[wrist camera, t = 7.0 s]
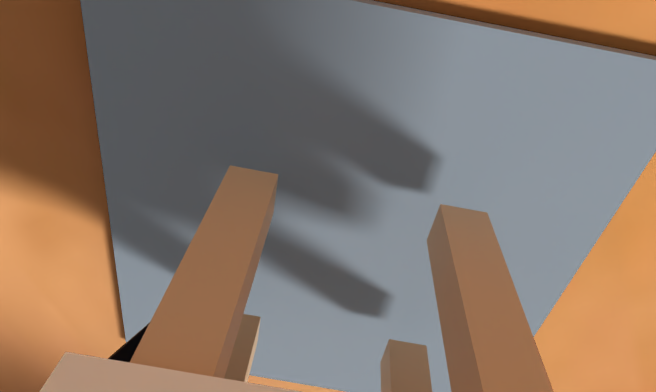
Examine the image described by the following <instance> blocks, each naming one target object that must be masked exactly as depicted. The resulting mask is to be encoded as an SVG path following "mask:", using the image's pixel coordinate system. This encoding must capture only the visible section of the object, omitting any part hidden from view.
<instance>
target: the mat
mask: <svg viewBox="0 0 656 392" xmlns="http://www.w3.org/2000/svg"><path fill="white" fill-rule="evenodd" d="M80 2H81V10H82V17H83V25H84V32H85V39H86V47H87V54H88V62H89V69H90V77H91V84H92V92H93V99H94V107H95V114H96V122H97V129H98V137H99V144H100V152H101V159H102V167H103V174H104V181H105V189H106V196H107V204H108V211H109V219H110V226H111V234H112V241H113V249H114V256H115V264H116V271H117V279H118V286H119V294H120V301H121V309H122V316H123V323H124V331H125V338H126V342H128V341H129V340H130V339H131V338H132V337H133V336H135V335H136V334H137V333H138V332H139V331H140V330H141V329H143V328H144V327H145V326H146V325H147V324H148V323H150V321H151V319H152V317H153V315H154V313H155V312H156V310H157V308H158V306H159V304H160V302H161V300H162V298H163V296H164V294H165V292H166V290H167V288H168V286H169V284H170V282H171V280H172V278H173V276H174V274H175V272H176V270H177V268H178V266H179V264H180V262H181V261H182V259H183V257H184V255H185V253H186V251H187V249H188V247H189V245H190V243H191V241H192V239H193V237H194V235H195V233H196V231H197V229H198V227H199V225H200V223H201V221H202V219H203V217H204V215H205V213H206V212H207V210H208V208H209V206H210V204H211V202H212V200H213V198H214V196H215V194H216V192H217V190H218V188H219V186H220V184H221V182H222V180H223V178H224V176H225V174H226V172H227V170H228V168H229V166H230V165H231V166H236V167H241V168H247V169H252V170H258V171H263V172H269V173H274V174H278V181H277V189H276V197H275V205H274V213H273V216H272V220H271V223H270V227H269V230H268V233H267V237H266V240H265V243H264V247H263V250H262V253H261V257H260V260H259V263H258V267H257V270H256V273H255V277H254V280H253V283H252V287H251V290H250V294H249V297H248V300H247V304H246V307H245V310H244V314H247V315H253V316H259V317H261V318H260V326H259V334H258V342H257V346H256V350H255V354H254V358H253V362H252V366H251V370H250V374H249V375H252V376H258V377H264V378H270V379H276V380H282V381H287V382H293V383H299V384H305V385H311V386H317V387H323V388H328V389H334V390H340V391H346V392H381V370H380V362H381V359H382V357H383V354H384V351H385V349H386V346H387V343H388V341H389V339H392V340H397V341H403V342H409V343H415V344H420V345H426V346H427V353H428V361H429V369H430V377H431V385H432V392H451V386H450V380H449V374H448V368H447V362H446V356H445V350H444V344H443V338H442V331H441V325H440V319H439V313H438V307H437V301H436V295H435V289H434V283H433V277H432V271H431V265H430V259H429V253H428V247H427V238H428V235H429V233H430V230H431V227H432V225H433V222H434V219H435V217H436V214H437V212H438V209H439V206H440V204H443V205H449V206H454V207H460V208H465V209H471V210H476V211H482V212H487V213H488V216H489V218H490V221H491V224H492V227H493V229H494V232H495V235H496V237H497V240H498V243H499V246H500V248H501V251H502V254H503V256H504V259H505V262H506V264H507V267H508V270H509V273H510V275H511V278H512V281H513V283H514V286H515V289H516V292H517V294H518V297H519V300H520V302H521V305H522V308H523V310H524V313H525V316H526V319H527V321H528V324H529V327H530V329H531V332H532V335H533V337H534V335H535V334H536V332H537V331H538V329H539V328H540V326H541V325H542V323H543V322H544V320H545V319H546V317H547V316H548V314H549V313H550V311H551V310H552V308H553V307H554V305H555V304H556V302H557V301H558V299H559V298H560V296H561V294H562V293H563V291H564V290H565V288H566V287H567V285H568V284H569V282H570V281H571V279H572V278H573V276H574V275H575V273H576V272H577V270H578V269H579V267H580V266H581V264H582V263H583V261H584V260H585V258H586V257H587V255H588V254H589V252H590V251H591V249H592V247H593V246H594V244H595V243H596V241H597V240H598V238H599V237H600V235H601V234H602V232H603V231H604V229H605V228H606V226H607V225H608V223H609V222H610V220H611V219H612V217H613V216H614V214H615V213H616V211H617V210H618V208H619V207H620V205H621V203H622V202H623V200H624V199H625V197H626V196H627V194H628V193H629V191H630V190H631V188H632V187H633V185H634V184H635V182H636V181H637V179H638V178H639V176H640V175H641V173H642V172H643V170H644V169H645V167H646V166H647V164H648V163H649V161H650V159H651V158H652V156H653V155H654V153H655V152H656V56H653V55H648V54H643V53H638V52H633V51H627V50H622V49H617V48H612V47H607V46H602V45H597V44H592V43H587V42H582V41H577V40H572V39H567V38H561V37H556V36H551V35H546V34H541V33H536V32H531V31H526V30H521V29H516V28H511V27H506V26H500V25H495V24H490V23H485V22H480V21H475V20H470V19H465V18H460V17H455V16H450V15H445V14H440V13H434V12H429V11H424V10H419V9H414V8H409V7H404V6H399V5H394V4H389V3H384V2H379V1H374V0H80Z"/></svg>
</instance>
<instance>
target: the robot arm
mask: <svg viewBox="0 0 656 392" xmlns="http://www.w3.org/2000/svg"><path fill="white" fill-rule="evenodd" d="M148 325H149V323H148V324H147V325H146V326H145V327H144V328H143V329H141V330H140V331H139V332H138V333H137V334H136V335H135V336H133V337H132V338H131V339H130V340H129V341H128V342H126V343H125V344H124V345H123V346H122V347H121V348H120V349H118V350H117V351H116V352H115V353H114V354H113V355H111V356H110V357H109V358H108V359H111V360H117V361H123V362H130V361H131V359H132V357H133V355H134V353H135V351H136V349H137V347H138V345H139V343H140V341H141V339H142V337H143V335H144V333H145V331H146V329H147V327H148Z"/></svg>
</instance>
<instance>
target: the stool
mask: <svg viewBox="0 0 656 392" xmlns="http://www.w3.org/2000/svg"><path fill="white" fill-rule="evenodd" d="M277 181H278V174H274V173H269V172H263V171H258V170H252V169H247V168H241V167H236V166H231V165H230V166H229V168H228V170H227V172H226V174H225V176H224V178H223V180H222V182H221V184H220V186H219V188H218V190H217V192H216V194H215V196H214V198H213V200H212V202H211V204H210V206H209V208H208V210H207V212H206V213H205V215H204V217H203V219H202V221H201V223H200V225H199V227H198V229H197V231H196V233H195V235H194V237H193V239H192V241H191V243H190V245H189V247H188V249H187V251H186V253H185V255H184V257H183V259H182V261H181V262H180V264H179V266H178V268H177V270H176V272H175V274H174V276H173V278H172V280H171V282H170V284H169V286H168V288H167V290H166V292H165V294H164V296H163V298H162V300H161V302H160V304H159V306H158V308H157V310H156V312H155V313H154V315H153V317H152V319H151V321H150V323H149V325H148V327H147V329H146V331H145V333H144V335H143V337H142V339H141V341H140V343H139V345H138V347H137V349H136V351H135V353H134V355H133V357H132V359H131V361H130V362H123V361H117V360H111V359H105V358H99V357H94V356H88V355H82V354H76V353H70V352H65V354H64V355H63V357H62V358H61V360H60V361H59V363H58V364H57V366H56V367H55V369H54V370H53V372H52V373H51V375H50V376H49V378H48V379H47V381H46V382H45V384H44V385H43V387H42V388H41V390H40V391H39V392H301V391H295V390H289V389H283V388H277V387H272V386H266V385H260V384H254V383H248V378H249V374H250V370H251V366H252V362H253V358H254V354H255V350H256V346H257V342H258V334H259V326H260V318H261V317H259V316H253V315H247V314H244V310H245V307H246V304H247V300H248V297H249V294H250V290H251V287H252V283H253V280H254V277H255V273H256V270H257V267H258V263H259V260H260V257H261V253H262V250H263V247H264V243H265V240H266V237H267V233H268V230H269V227H270V223H271V220H272V216H273V213H274V205H275V197H276V189H277ZM427 247H428V253H429V259H430V265H431V271H432V277H433V283H434V289H435V295H436V301H437V307H438V313H439V319H440V325H441V331H442V338H443V344H444V350H445V356H446V362H447V368H448V374H449V380H450V386H451V392H553V389H552V386H551V384H550V381H549V378H548V375H547V373H546V370H545V367H544V365H543V362H542V359H541V356H540V354H539V351H538V348H537V346H536V343H535V340H534V338H533V335H532V332H531V329H530V327H529V324H528V321H527V319H526V316H525V313H524V310H523V308H522V305H521V302H520V300H519V297H518V294H517V292H516V289H515V286H514V283H513V281H512V278H511V275H510V273H509V270H508V267H507V264H506V262H505V259H504V256H503V254H502V251H501V248H500V246H499V243H498V240H497V237H496V235H495V232H494V229H493V227H492V224H491V221H490V218H489V216H488V213H487V212H482V211H476V210H471V209H465V208H460V207H454V206H449V205H443V204H440V206H439V209H438V212H437V214H436V217H435V219H434V222H433V225H432V227H431V230H430V233H429V235H428V238H427ZM380 370H381V392H432V385H431V377H430V369H429V361H428V353H427V346H426V345H420V344H415V343H409V342H403V341H397V340H392V339H389V341H388V343H387V346H386V349H385V351H384V354H383V357H382V359H381V362H380Z"/></svg>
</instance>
